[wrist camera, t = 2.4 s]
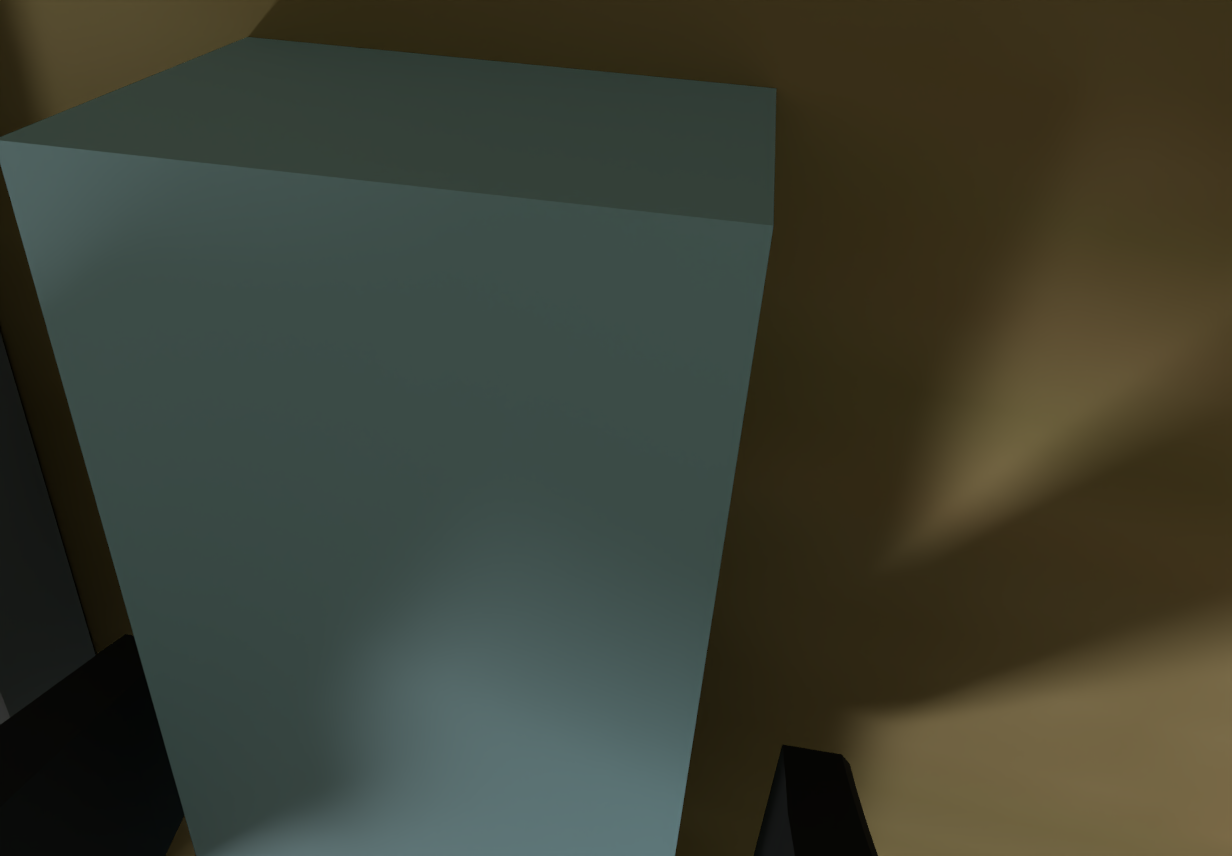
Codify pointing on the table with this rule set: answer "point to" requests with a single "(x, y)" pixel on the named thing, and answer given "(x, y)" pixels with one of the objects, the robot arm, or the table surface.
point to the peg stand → (31, 570)
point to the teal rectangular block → (410, 429)
